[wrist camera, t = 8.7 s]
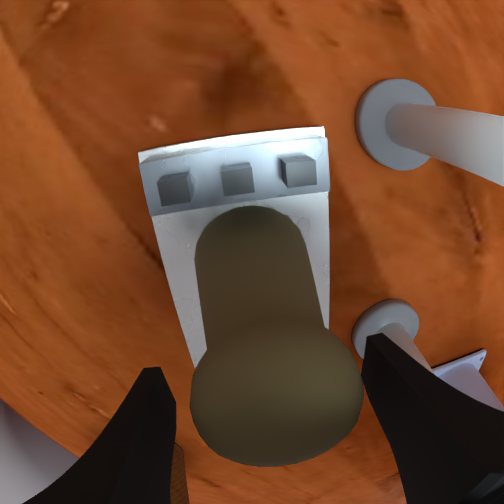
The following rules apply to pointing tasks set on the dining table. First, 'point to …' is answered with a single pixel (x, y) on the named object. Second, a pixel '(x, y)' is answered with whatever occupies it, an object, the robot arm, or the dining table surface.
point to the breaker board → (198, 219)
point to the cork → (267, 346)
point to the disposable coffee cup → (178, 478)
